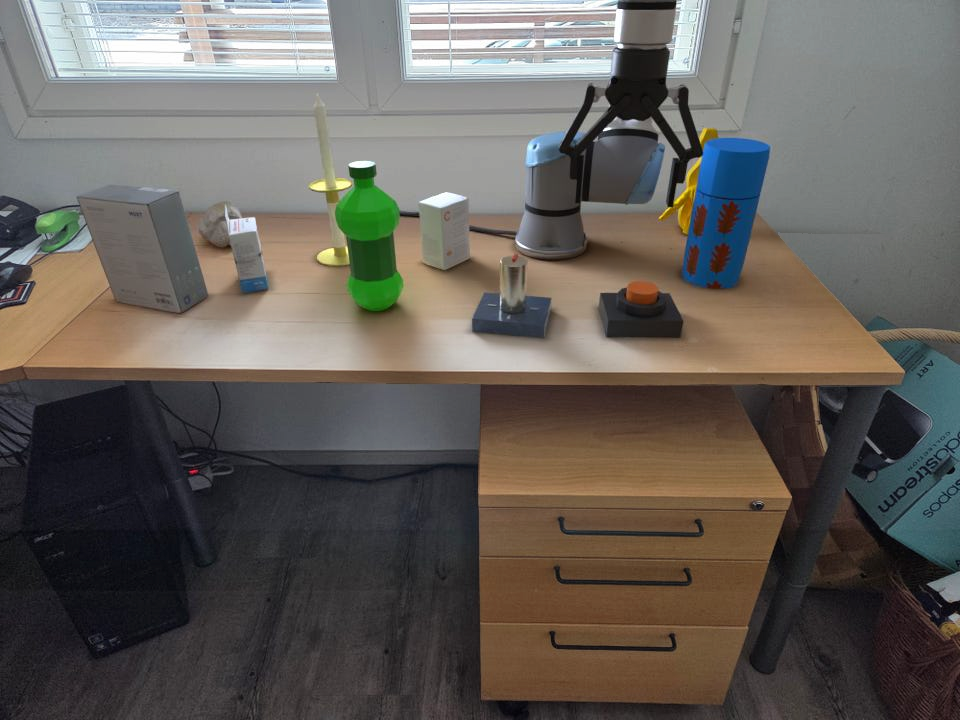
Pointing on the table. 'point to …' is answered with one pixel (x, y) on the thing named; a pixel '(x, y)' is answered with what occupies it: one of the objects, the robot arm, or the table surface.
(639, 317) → the black button base
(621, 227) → the table surface
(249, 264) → the ink box
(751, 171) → the thermos
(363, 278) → the plastic bottle
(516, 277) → the dial knob
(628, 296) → the button
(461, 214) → the small box
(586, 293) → the table surface
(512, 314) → the dial panel
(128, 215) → the hard drive box
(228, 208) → the fossil replica
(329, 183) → the candle
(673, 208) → the figure statuette
